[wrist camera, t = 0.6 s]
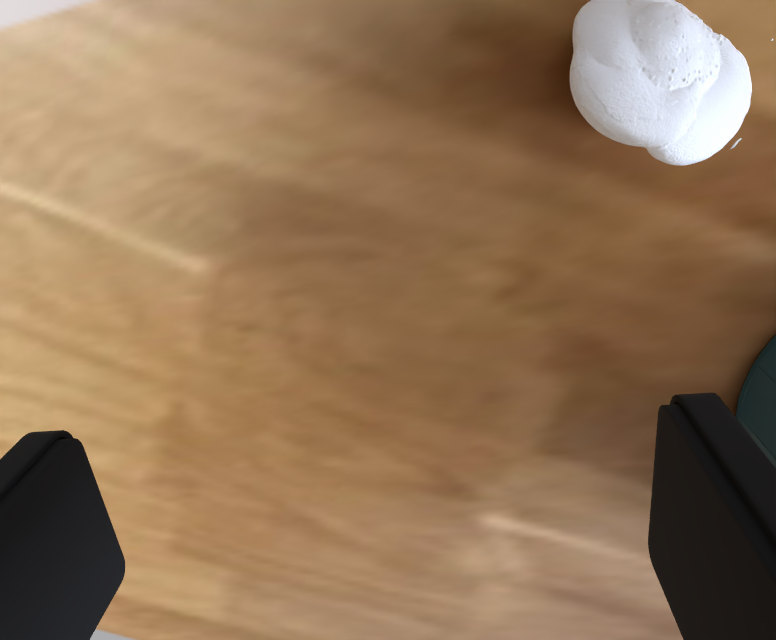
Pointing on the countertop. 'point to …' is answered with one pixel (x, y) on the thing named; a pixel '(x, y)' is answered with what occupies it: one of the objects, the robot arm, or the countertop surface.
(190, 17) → the countertop surface
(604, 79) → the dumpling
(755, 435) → the pot
